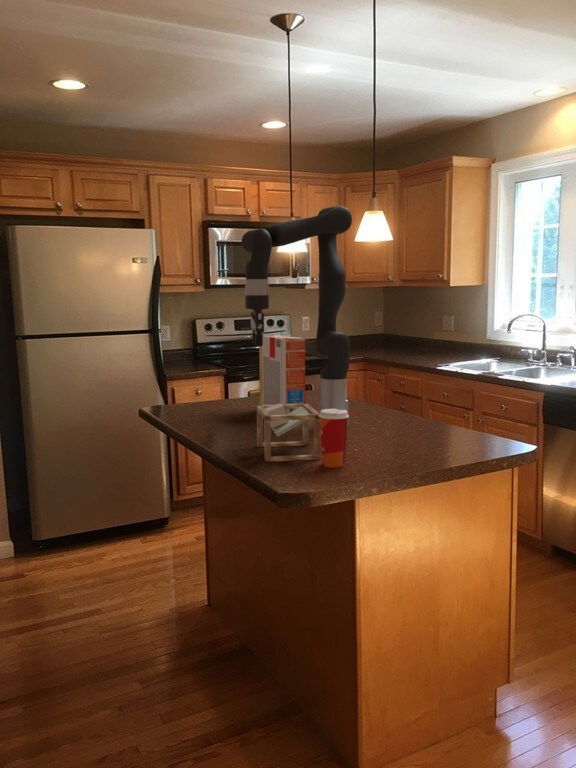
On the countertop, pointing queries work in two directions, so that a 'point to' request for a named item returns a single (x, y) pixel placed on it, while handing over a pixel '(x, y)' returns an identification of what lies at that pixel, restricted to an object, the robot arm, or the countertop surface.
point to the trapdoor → (290, 422)
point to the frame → (268, 444)
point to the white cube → (277, 410)
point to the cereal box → (282, 370)
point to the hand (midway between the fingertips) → (257, 345)
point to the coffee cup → (333, 437)
